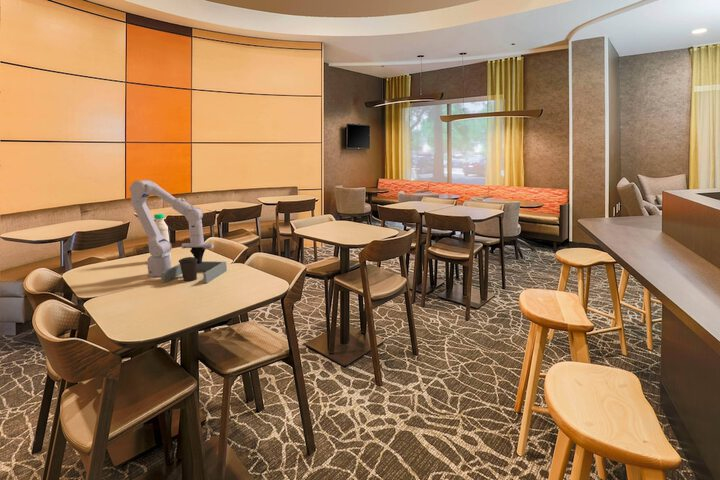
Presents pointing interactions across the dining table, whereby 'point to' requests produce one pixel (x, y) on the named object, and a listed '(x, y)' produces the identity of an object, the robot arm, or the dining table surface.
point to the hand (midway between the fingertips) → (199, 263)
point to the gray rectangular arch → (210, 266)
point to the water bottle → (162, 226)
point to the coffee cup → (189, 268)
